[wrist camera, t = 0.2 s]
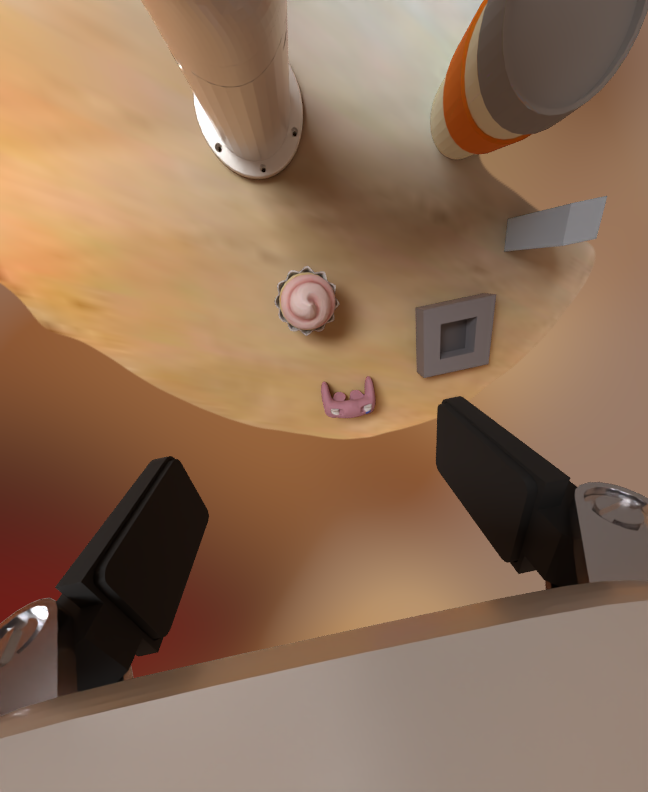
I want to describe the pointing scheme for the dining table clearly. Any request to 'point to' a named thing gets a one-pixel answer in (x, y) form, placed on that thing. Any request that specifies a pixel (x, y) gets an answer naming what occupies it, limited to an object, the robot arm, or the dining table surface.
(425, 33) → the dining table surface
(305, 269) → the cupcake
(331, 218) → the dining table surface
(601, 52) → the reusable coffee cup
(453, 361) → the socket
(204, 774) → the robot arm
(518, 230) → the plug
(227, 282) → the dining table surface
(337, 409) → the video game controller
